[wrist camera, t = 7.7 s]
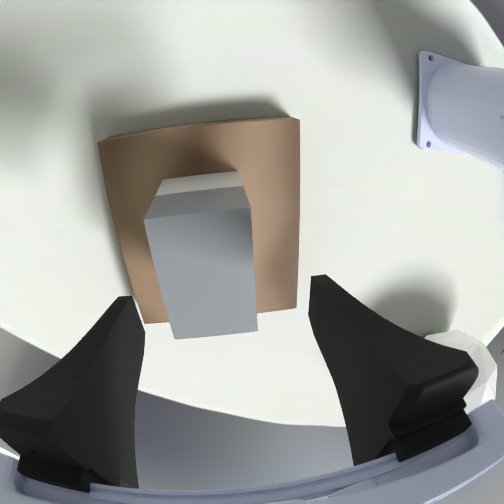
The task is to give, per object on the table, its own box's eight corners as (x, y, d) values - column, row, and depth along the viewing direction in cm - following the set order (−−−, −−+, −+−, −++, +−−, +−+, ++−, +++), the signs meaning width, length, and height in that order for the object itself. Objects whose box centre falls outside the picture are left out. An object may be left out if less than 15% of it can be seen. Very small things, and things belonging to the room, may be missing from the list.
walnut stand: (291, 117, 18) (299, 119, 17) (290, 292, 25) (296, 308, 24) (107, 137, 17) (97, 142, 16) (148, 307, 24) (144, 323, 23)
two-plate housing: (238, 171, 18) (250, 207, 13) (245, 270, 21) (257, 331, 16) (163, 179, 17) (143, 219, 12) (181, 277, 21) (174, 339, 16)
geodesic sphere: (392, 437, 34) (474, 465, 22) (342, 426, 28) (452, 471, 16) (431, 346, 39) (513, 358, 26) (394, 307, 33) (506, 318, 20)
